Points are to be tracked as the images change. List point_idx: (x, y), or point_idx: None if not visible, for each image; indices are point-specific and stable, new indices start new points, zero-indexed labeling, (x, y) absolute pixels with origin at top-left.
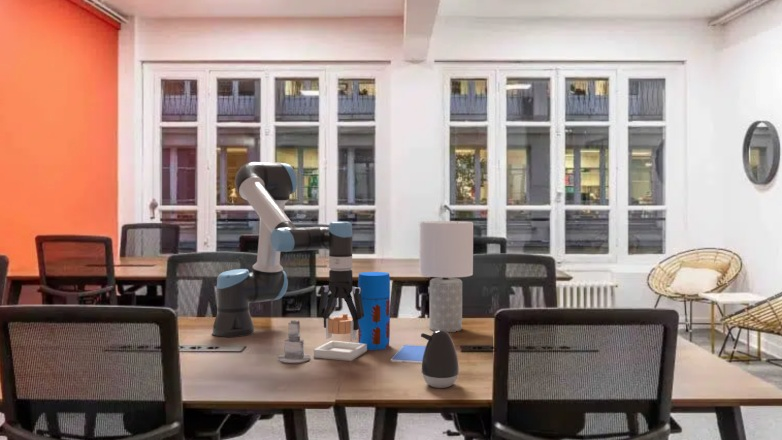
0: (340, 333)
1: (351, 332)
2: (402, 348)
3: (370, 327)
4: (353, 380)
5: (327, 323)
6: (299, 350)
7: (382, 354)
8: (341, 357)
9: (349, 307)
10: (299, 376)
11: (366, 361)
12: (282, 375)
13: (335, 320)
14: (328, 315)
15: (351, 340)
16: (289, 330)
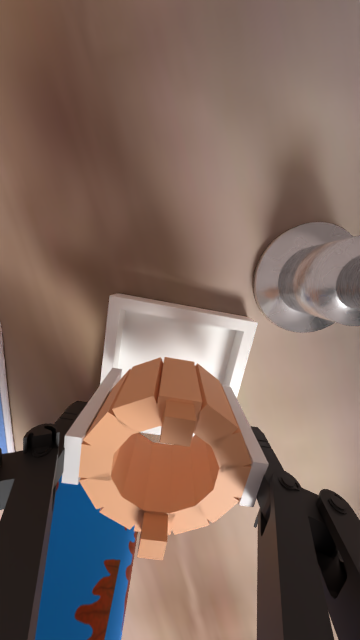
0: (153, 360)
1: (105, 388)
2: (2, 440)
3: (59, 499)
4: (29, 36)
5: (247, 437)
6: (307, 256)
7: (48, 385)
8: (150, 300)
9: (12, 591)
10: (242, 55)
11: (69, 300)
12: (307, 57)
13: (182, 406)
14: (265, 511)
15: (117, 369)
16: None
